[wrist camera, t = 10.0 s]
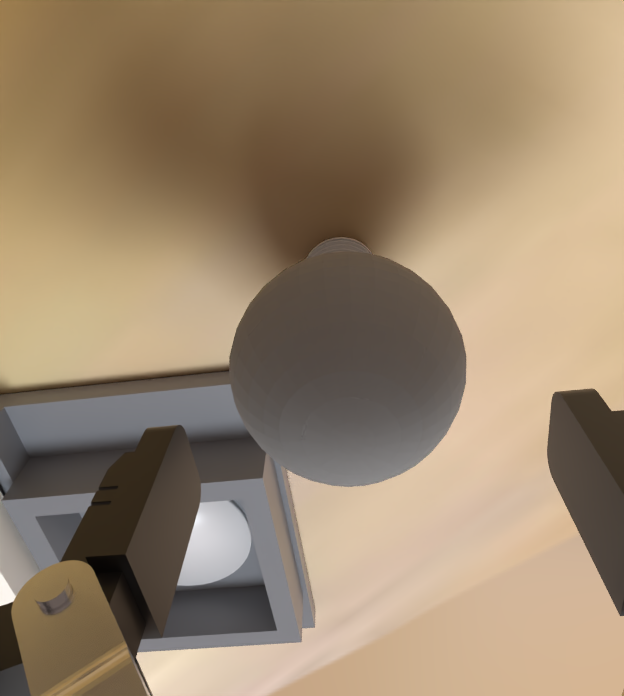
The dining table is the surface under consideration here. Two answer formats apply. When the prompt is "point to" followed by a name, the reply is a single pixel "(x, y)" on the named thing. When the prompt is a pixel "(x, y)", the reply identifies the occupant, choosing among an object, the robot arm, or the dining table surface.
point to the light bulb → (347, 367)
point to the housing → (212, 517)
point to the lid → (13, 559)
